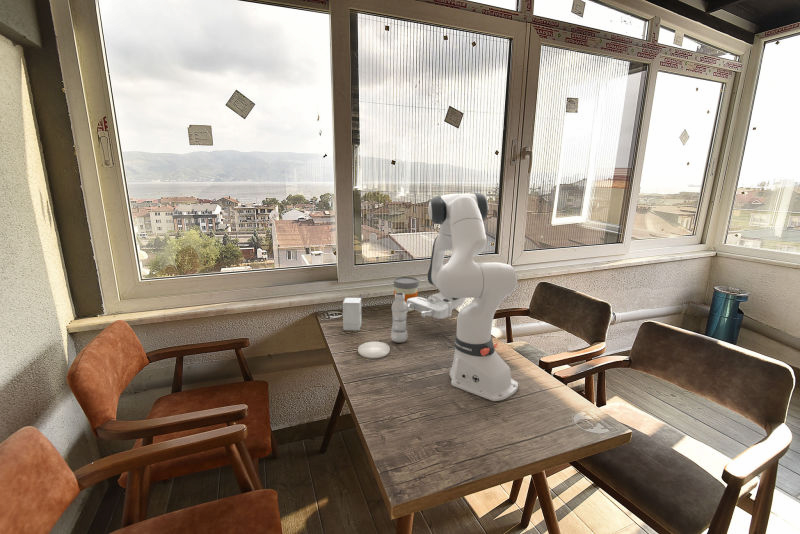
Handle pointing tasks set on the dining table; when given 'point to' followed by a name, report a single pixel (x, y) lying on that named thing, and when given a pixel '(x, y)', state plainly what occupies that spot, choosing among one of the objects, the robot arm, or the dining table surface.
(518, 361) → the dining table surface
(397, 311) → the plastic bottle
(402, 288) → the reusable coffee cup
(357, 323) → the supplement box
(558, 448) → the dining table surface
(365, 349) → the coaster
